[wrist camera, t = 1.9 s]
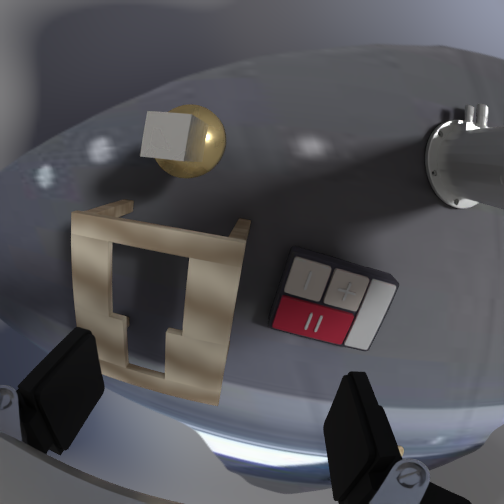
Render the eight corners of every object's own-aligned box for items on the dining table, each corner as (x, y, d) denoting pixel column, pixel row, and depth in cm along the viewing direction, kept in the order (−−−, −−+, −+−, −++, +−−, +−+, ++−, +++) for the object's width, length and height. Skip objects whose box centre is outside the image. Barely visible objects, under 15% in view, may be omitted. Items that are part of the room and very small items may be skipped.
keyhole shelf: (122, 197, 38) (71, 212, 26) (253, 218, 37) (245, 243, 26) (119, 323, 43) (83, 367, 32) (230, 350, 43) (217, 406, 32)
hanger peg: (186, 116, 34) (131, 89, 19) (241, 123, 34) (219, 93, 19) (177, 170, 36) (117, 177, 21) (231, 178, 36) (203, 188, 21)
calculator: (292, 252, 35) (402, 285, 35) (291, 243, 39) (392, 273, 39) (266, 330, 38) (369, 355, 38) (268, 315, 42) (363, 339, 42)
